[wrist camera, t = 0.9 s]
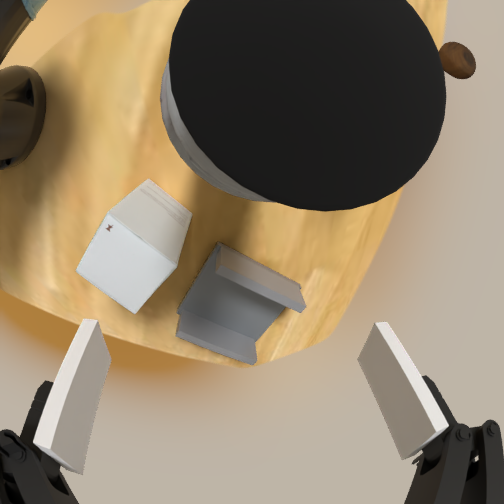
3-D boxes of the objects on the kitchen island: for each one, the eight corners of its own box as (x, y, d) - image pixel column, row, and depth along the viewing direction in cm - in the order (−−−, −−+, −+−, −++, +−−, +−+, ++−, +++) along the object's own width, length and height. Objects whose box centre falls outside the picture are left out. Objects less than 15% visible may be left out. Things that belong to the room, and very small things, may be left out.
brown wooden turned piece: (332, 84, 27) (429, 63, 11) (348, 43, 24) (444, 1, 8) (377, 109, 28) (486, 119, 12) (391, 69, 26) (498, 58, 10)
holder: (177, 308, 39) (171, 334, 34) (218, 241, 35) (216, 262, 30) (252, 340, 43) (255, 366, 38) (299, 284, 39) (309, 307, 34)
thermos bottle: (271, 76, 26) (446, -57, 1) (284, 141, 30) (491, 246, 5) (200, 89, 26) (66, -47, 1) (215, 154, 30) (156, 330, 5)
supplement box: (116, 220, 32) (71, 270, 21) (149, 176, 30) (107, 209, 19) (160, 255, 35) (134, 317, 24) (195, 214, 33) (179, 266, 22)
